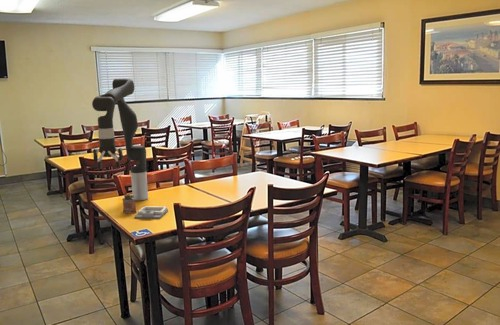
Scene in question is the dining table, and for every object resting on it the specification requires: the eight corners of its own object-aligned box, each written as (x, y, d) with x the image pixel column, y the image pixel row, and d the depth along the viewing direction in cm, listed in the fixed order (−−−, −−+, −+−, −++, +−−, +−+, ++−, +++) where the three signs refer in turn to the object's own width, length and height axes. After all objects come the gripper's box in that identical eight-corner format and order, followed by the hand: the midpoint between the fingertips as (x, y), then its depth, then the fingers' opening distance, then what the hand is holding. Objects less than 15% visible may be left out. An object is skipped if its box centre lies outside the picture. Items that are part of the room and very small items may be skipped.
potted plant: (121, 212, 237) (120, 194, 235) (125, 210, 240) (124, 193, 238) (134, 213, 234) (132, 196, 232) (137, 211, 237) (136, 194, 235)
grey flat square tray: (143, 210, 239) (143, 205, 239) (168, 211, 238) (167, 205, 237) (134, 218, 226) (134, 212, 225) (160, 218, 224) (159, 213, 223)
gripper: (123, 135, 217) (125, 166, 220) (95, 136, 217) (97, 167, 220) (118, 137, 209) (121, 170, 213) (89, 138, 209) (92, 170, 213)
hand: (109, 168), depth 216 cm, fingers open, 8 cm apart
